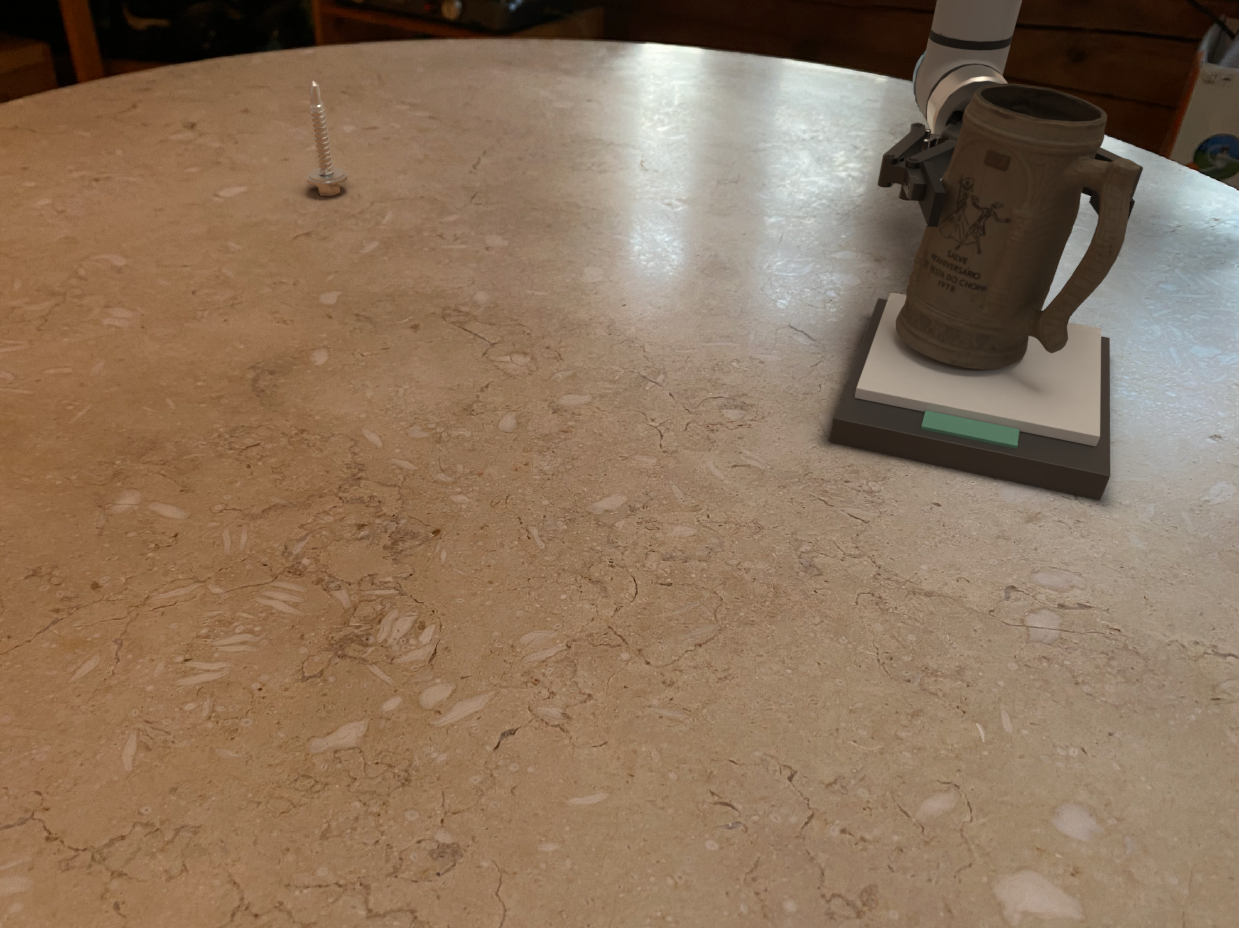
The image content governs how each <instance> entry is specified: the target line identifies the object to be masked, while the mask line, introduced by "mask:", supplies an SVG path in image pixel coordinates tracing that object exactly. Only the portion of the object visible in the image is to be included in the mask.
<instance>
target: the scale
mask: <svg viewBox="0 0 1239 928" xmlns="http://www.w3.org/2000/svg"><path fill="white" fill-rule="evenodd" d="M905 300H906V294H903V293H896V292H890V293H889V296H888V297H887V298H881V297H878V298H877V300H876V303H875V306H874V308H873V311H872V313H871V315H870V319H869V322H868V324H867V327H866V330H865V332H864V335H863V338H862V339H861V343H860V346H859V348H858V350H857V354H856V357H855V360H854V361H853V364H852V367H851V370H850V373H849V376H848V378H847V381H846V384H845V386H844V389H843V391H842V394H841V397H840V399H839V403H838V405H837V407H836V410H835V413H834V415H833V419H832V423H831V430H830V434H829V438H828V442H829V443H831V444H835V445H840V446H844V447H850V448H855V449H860V450H862V451H863V450H864V451H869V452H872V453H878V454H883V455H887V456H892V457H895V458H901V459H906V460H911V461H914V462H920V463H924V464H928V465H933V466H937V467H942V468H947V469H952V470H955V471H956V470H957V471H961V472H966V473H971V474H976V475H979V476H984V477H989V478H993V479H998V480H1003V481H1008V482H1013V483H1016V484H1021V485H1026V486H1031V487H1034V488H1035V487H1036V488H1040V489H1044V490H1049V491H1054V492H1059V493H1063V494H1067V495H1073V496H1078V497H1081V498H1086V499H1089V500H1095V501H1101V499H1102V498H1103V495H1104V492H1105V490H1106V488H1107V485H1108V482H1109V480H1110V478H1111V338H1110V337H1108V336H1103V335H1102V328H1101V327H1097V326H1090V325H1084V324H1080V323H1079V324H1078V323H1073V322H1068V325H1067V331H1068V341H1067V343H1066V345H1065V347H1063V348H1062V349H1061V350H1059V351H1057V352H1054V353H1049V352H1048V351H1046V350H1045V348H1044V347H1043V345H1042V344H1041V343H1040V342H1039V341H1038V340H1037V339H1036V338H1034V337H1031V336H1028V337H1029V339H1028V346H1027V351H1026V353H1025V355H1024V357H1023V358H1022V359H1021V360H1020V361H1019V362H1017V363H1015V364H1012V365H1010V366H1008V367H1004V368H999V369H972V368H965V367H960V366H956V365H952V364H947V363H944V362H941V361H939V360H936V359H933V358H931V357H928V356H925V355H923V354H922V353H920V352H918V351H916V350H915V349H913V348H912V347H911V346H909V345H908V344H907V343H905V342H904V341H903V340H902V339H901V337H900V336H899V334H898V333H897V331H896V318H897V316H898V314H899V312H900V310H901V309H902V307H903V306H904V304H905Z"/></svg>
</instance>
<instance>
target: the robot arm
mask: <svg viewBox="0 0 1239 928" xmlns="http://www.w3.org/2000/svg"><path fill="white" fill-rule="evenodd" d="M1022 2H1023V0H936V2H935V3H936V4H935V9H934V12H933V13H934V14H933V18H932V22H931V23H932V24H931V28H930V32H929V36H928V38H927V44H926V48H925V51H924V52H923V53H922V54H921V55H920V57H919V58H918V60H917V62H916V64H915V67H914V69H913V75H912V93H913V95H914V101H915V103H916V107H917V108H918V111H919V112H920V113H921V114H922V116H923V118H924V120H925V122H926V124H927V126H928V128H926V125H925V124H924V123H922V122H912V123H911V124H910V127H909V132H908V133H907V134H906V135H905V136H904V137H903V138H901V139H900V140H899V141H898V142H896V143H895V144H894V145H893V146H891V148H890V149H889V148H888V150H887V151H886V152H885V153H884V154H883V155H882V158H881V163H880V167H879V168H880V169H879V174H878V178H877V184H876V185H877V186H878V187H880V188H885V189H886V188H887V189H888V188H892V187H893V186H894V185H895V184H896V185H900V189H899V194H898V199H899V200H902V201H905V202H910V201H911V202H918V205H919V207H920V210H921V213H922V215H923V218H924V221H925V223H926V226H928V227H938V223H939V219H940V215H941V211H942V207H943V202H944V198H945V194H946V192H945V190H944V188H943V185H942V183H941V180H942V178H943V175H944V174H945V172H946V170H947V168H948V166H949V163H950V161H951V158H952V155H953V152H954V149H955V146H956V143H957V140H958V136H959V133H960V130H961V127H962V124H963V114H964V111H965V108H966V107H967V105H968V104H969V103H970V101H971V99H972V97H973V94H974V93H975V91H976V90H977V89H979V88H980V87H982V86H985V85H991V84H1002V83H1008V81H1007V80H1006V79H1005V78H1004V72H1005V68H1006V64H1007V61H1008V56H1009V54H1010V53H1009V52H1010V48H1011V44H1012V41H1013V37H1014V33H1015V32H1014V31H1015V27H1016V24H1017V21H1018V16H1019V13H1020V10H1021V6H1022V4H1023V3H1022ZM1121 157H1122V158H1124V157H1123V156H1121V155H1118V154H1117V153H1114V152H1112V151H1109V150H1107V149H1105V148H1103V147H1102V146H1101V147H1100V148H1099V149H1098V150H1097V153H1096V155H1095V158H1094V160H1101V161H1107V162H1111V161H1113V160H1116V159H1118V158H1121ZM1136 164H1137V165H1138V166H1139V167H1140V169H1139V171H1138V174H1137V176H1136V178H1135V181H1134V183H1133V187H1132V191H1131V195H1130V205H1129V214H1128V222H1127V224H1128V223H1129V220H1130V217H1131V215H1132V211H1133V209H1134V206H1135V203H1136V200H1135V199H1134V195H1135V193H1136V190H1137V187H1138V184H1139V182H1140V179H1141V176H1142V173H1143V171H1144V167H1143V166H1142V165H1141V164H1140V165H1139V164H1138V163H1136ZM1081 194H1083V195H1086V196H1088V197H1090V198H1089V201H1088V203H1089V205H1090V206H1091V207H1092V209H1093V210H1094V212H1095V214H1097V216H1099V195H1098V193H1097V192H1096V191H1095V190H1092V189H1090V188H1088V187H1083V189H1082V193H1081Z"/></svg>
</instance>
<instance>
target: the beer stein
mask: <svg viewBox="0 0 1239 928" xmlns="http://www.w3.org/2000/svg"><path fill="white" fill-rule="evenodd" d="M1107 122H1108V114H1107V113H1106V111H1105V110H1104V109H1103V108H1101V107H1100V106H1097V105H1095V104H1093V103H1092V102H1090V101H1088V100H1087V99H1083V98H1081V97H1078V96H1076V95H1073V94H1070V93H1066V92H1063V91H1060V90H1057V89H1054V88H1051V87H1042V86H1037V85H1036V86H1035V85H1029V84H1019V83H1008V82H1007V83H1002V84H991V85H985V86H982V87H980V88H979V89H977V90H976V91H975V93H974V94H973V97H972V99H971V101H970V103H969V104H968V105H967V107H966V108H965V111H964V114H963V124H962V127H961V130H960V133H959V136H958V140H957V143H956V146H955V149H954V152H953V155H952V158H951V161H950V163H949V166H948V168H947V170H946V172H945V174H944V175H943V178H941V179H940V181H941V183H942V185H943V188H944V190H945V192H946V194H945V198H944V202H943V207H942V211H941V215H940V219H939V223H938V227H928V226H927V225H926V226H925V228H924V233H923V235H922V237H921V240H920V243H919V246H918V247H917V250H916V253H915V256H914V259H913V263H912V269H911V272H910V274H909V279H908V284H907V287H906V291H905V295H906V300H905V304H904V306H903V307H902V309H901V310H900V312H899V314H898V316H897V318H896V331H897V333H898V334H899V336H900V337H901V339H902V340H903V341H904V342H905V343H907V344H908V345H909V346H911V347H912V348H913V349H915V350H916V351H918V352H920V353H922V354H923V355H925V356H928V357H931V358H933V359H936V360H939V361H941V362H944V363H947V364H952V365H956V366H960V367H965V368H972V369H999V368H1004V367H1008V366H1010V365H1012V364H1015V363H1017V362H1019V361H1020V360H1021V359H1022V358H1023V357H1024V355H1025V353H1026V351H1027V346H1028V339H1029V337H1028V336H1031V337H1034V338H1036V339H1037V340H1038V341H1039V342H1040V343H1041V344H1042V345H1043V347H1044V348H1045V350H1046V351H1048V352H1049V353H1054V352H1057V351H1059V350H1061V349H1062V348H1063V347H1065V345H1066V343H1067V341H1068V331H1067V325H1068V323H1070V318H1071V317H1072V316H1073V314H1074V313H1075V312H1076V311H1077V310H1078V308H1079V307H1080V306H1082V304H1083V303H1084V302H1085V301H1086V300H1087V299H1088V298H1089V297H1090V296H1091V295H1092V294H1093V293H1094V292H1095V290H1097V288H1098V287H1099V286H1100V285H1101V284H1102V282H1103V281H1104V280H1105V279H1106V278H1107V276H1108V275H1109V272H1110V271H1111V269H1112V268H1113V266H1114V264H1115V262H1116V261H1117V260H1118V256H1119V254H1120V252H1121V250H1122V249H1123V248H1122V247H1123V245H1124V242H1125V239H1126V231H1127V227H1128V223H1129V220H1128V214H1129V205H1130V195H1131V191H1132V187H1133V183H1134V181H1135V178H1136V176H1137V174H1138V171H1139V169H1140V167H1139V166H1138V165H1139V164H1138V163H1136V162H1135V161H1133V160H1131V159H1129V158H1125V157H1123V156H1120V157H1121V158H1118V159H1116V160H1113V161H1111V162H1107V161H1101V160H1094V158H1095V155H1096V153H1097V150H1098V149H1099V148H1100V147H1101V148H1102V145H1103V142H1104V141H1105V129H1106V125H1107ZM1122 157H1123V158H1122ZM1137 164H1138V165H1137ZM1083 187H1088V188H1090V189H1092V190H1095V191H1096V192H1097V193H1098V195H1099V216H1098V215H1097V216H1098V218H1097V224H1096V227H1095V229H1094V232H1093V235H1092V237H1091V240H1090V243H1089V245H1088V247H1087V249H1086V251H1085V253H1084V255H1083V257H1082V258H1081V260H1080V261H1079V262H1078V265H1076V268H1074V270H1073V272H1072V274H1071V276H1070V277H1069V279H1068V280H1067V281H1066V282H1065V283H1064V285H1063V286H1062V288H1061V289H1060V290H1059V292H1058V293H1057V294H1056V296H1055V297H1053V299H1052V300H1051V301H1050V302H1049V303H1048V305H1047V306H1046V307H1045V308H1044V305H1045V303H1046V299H1047V297H1048V295H1049V294H1050V290H1051V288H1052V285H1053V282H1054V279H1055V276H1056V273H1057V270H1058V267H1059V265H1060V262H1061V259H1062V256H1063V253H1064V251H1065V248H1066V246H1067V243H1068V240H1069V238H1070V237H1071V234H1072V232H1073V229H1074V225H1075V223H1076V220H1077V218H1078V215H1079V211H1080V205H1081V199H1082V198H1081V197H1082V194H1083V193H1082V189H1083ZM1127 222H1128V223H1127ZM1043 308H1044V309H1043Z"/></svg>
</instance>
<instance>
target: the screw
mask: <svg viewBox="0 0 1239 928" xmlns="http://www.w3.org/2000/svg"><path fill="white" fill-rule="evenodd" d="M307 85H308V92H309V101H310V102H309V103H310V106H308V108H310V111H309V114H310V117H309V118H310V119H311V122H310V124H311V125H312V127H311V129H312V130H313V132H312V135H314V137H313V140H314V142H313V144H314V145H315V147H314V150H316V152H315V155H317V156H316V160H317V161H318V162H316V164H317V165H318V167H317V168H314V169H312V170H310V171H309V172H308V173H307V174H306V176H305V177H306V182H307V183H308V184H310V185H313V186H316V187H317V191H318V194H319V196H320V197H329V198H330V197H334V196H337V195H339V194H341V187H340V185H341V184H342V183H344V182H346V181H347V180H348V176H349V175H348V172H347V171H345V170H344V169H343V168H341V167H337V166H334V163H333V160H334V159H333V158H332V156H333V153H332V148H331V146H332V145H331V143H330V141H331V139H330V138H329V136H330V134H329V132H328V131H329V128H328V125H329V124H328V122H327V121H328V118H327V117H326V116H327V112H325V111H326V107H325V106H324V105H325V102H324V101H323V100H322V94H321V88H320V84H318V83H317V82H316V81H315V80H312V81H310V82H309V83H308V84H307Z"/></svg>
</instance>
